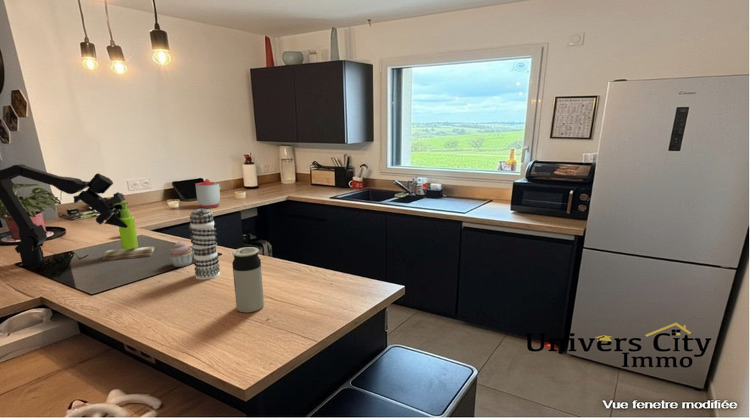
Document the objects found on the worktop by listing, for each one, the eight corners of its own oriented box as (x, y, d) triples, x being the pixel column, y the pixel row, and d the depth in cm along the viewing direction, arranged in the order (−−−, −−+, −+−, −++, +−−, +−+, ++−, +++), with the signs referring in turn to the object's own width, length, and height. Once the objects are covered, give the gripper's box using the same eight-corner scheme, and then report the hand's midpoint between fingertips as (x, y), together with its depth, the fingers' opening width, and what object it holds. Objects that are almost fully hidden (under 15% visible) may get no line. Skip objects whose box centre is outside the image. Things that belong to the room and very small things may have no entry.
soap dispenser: (118, 247, 164) (111, 202, 160) (136, 244, 168) (130, 200, 164) (120, 250, 160) (113, 204, 156) (139, 247, 164) (132, 202, 160)
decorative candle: (195, 272, 143) (187, 208, 138) (221, 269, 147) (215, 206, 141) (193, 281, 135) (185, 213, 130) (221, 277, 138) (214, 211, 133)
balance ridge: (102, 260, 158) (101, 255, 157) (111, 253, 167) (110, 248, 167) (150, 256, 163) (149, 251, 162) (156, 249, 172) (155, 244, 172)
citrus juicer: (228, 205, 272) (225, 178, 267) (206, 210, 257) (203, 180, 253) (214, 203, 280) (212, 176, 276) (192, 207, 265) (189, 179, 261)
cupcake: (200, 261, 156) (198, 238, 154) (183, 269, 147) (180, 245, 145) (182, 259, 158) (179, 236, 156) (164, 267, 149) (161, 243, 147)
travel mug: (266, 301, 119) (262, 246, 115) (260, 313, 111) (255, 254, 107) (241, 301, 119) (236, 247, 115) (233, 313, 111) (227, 255, 107)
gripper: (100, 190, 149) (136, 216, 154) (117, 184, 166) (148, 207, 172) (80, 211, 148) (116, 236, 154) (99, 203, 166) (131, 225, 171)
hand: (129, 225), depth 163 cm, fingers closed on soap dispenser, 6 cm apart
